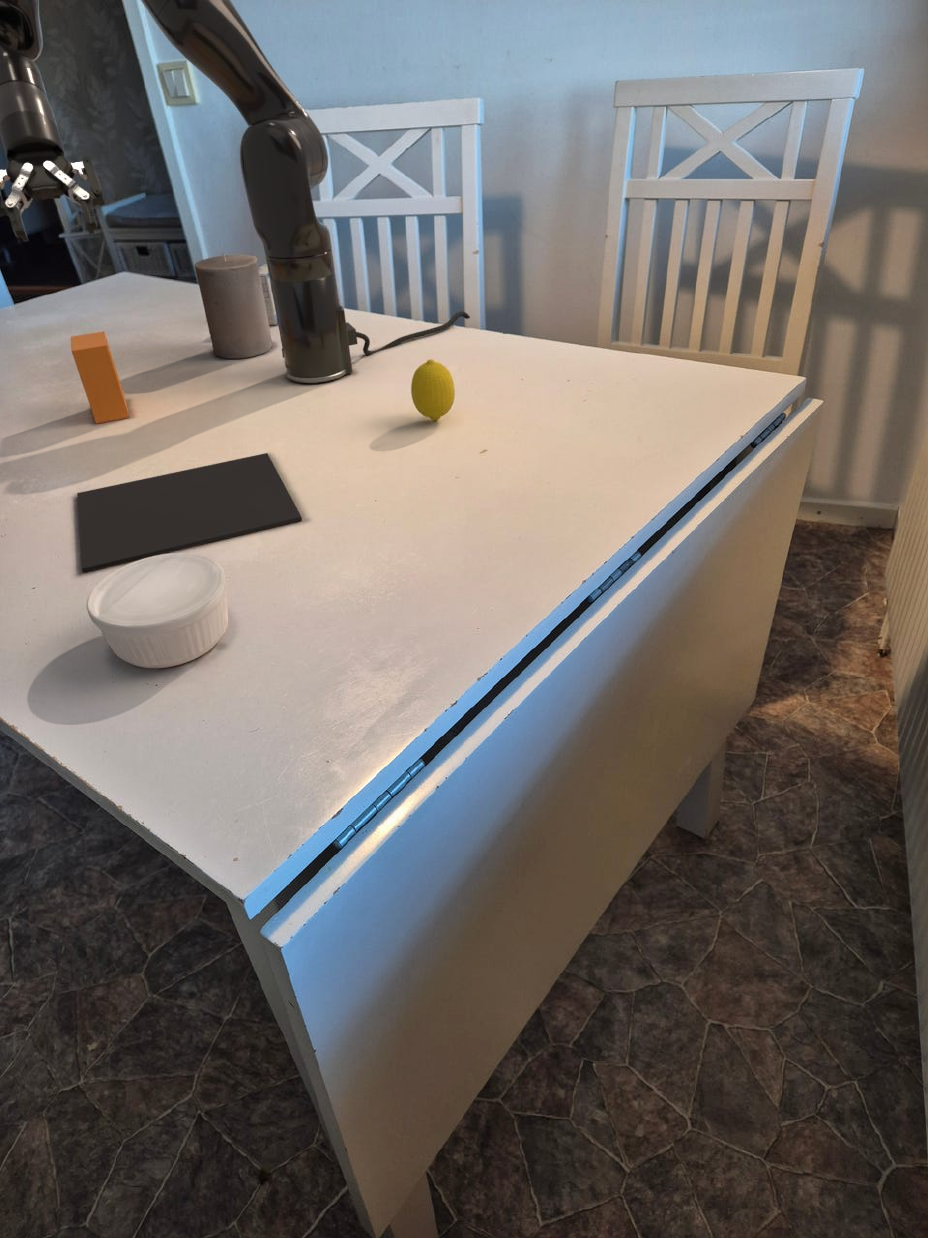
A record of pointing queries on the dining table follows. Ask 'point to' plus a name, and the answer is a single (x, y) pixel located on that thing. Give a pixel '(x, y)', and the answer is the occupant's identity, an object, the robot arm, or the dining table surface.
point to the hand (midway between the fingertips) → (58, 233)
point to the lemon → (432, 390)
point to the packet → (99, 377)
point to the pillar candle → (234, 305)
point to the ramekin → (162, 609)
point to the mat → (181, 511)
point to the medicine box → (268, 294)
